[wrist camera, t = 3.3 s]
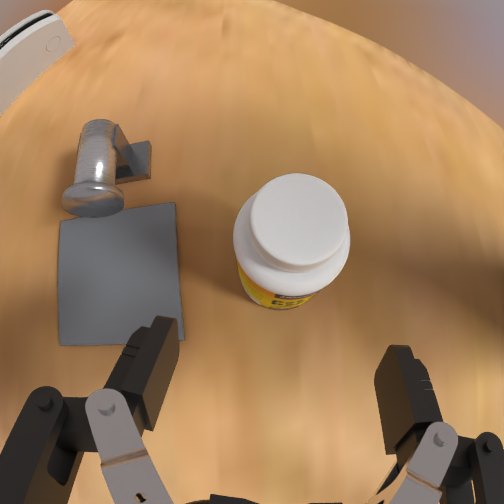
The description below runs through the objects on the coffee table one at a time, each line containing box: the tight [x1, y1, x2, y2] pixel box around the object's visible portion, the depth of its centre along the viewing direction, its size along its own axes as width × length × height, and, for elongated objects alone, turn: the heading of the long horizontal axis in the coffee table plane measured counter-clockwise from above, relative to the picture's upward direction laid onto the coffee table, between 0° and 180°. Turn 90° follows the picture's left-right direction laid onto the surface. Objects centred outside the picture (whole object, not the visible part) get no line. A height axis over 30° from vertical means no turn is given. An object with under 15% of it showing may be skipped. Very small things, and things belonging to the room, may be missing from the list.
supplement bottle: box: [233, 173, 350, 310], centre depth 17 cm, size 6×6×10 cm
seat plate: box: [58, 202, 185, 346], centre depth 22 cm, size 10×10×1 cm
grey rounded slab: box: [0, 10, 76, 116], centre depth 25 cm, size 17×5×10 cm, turn 142°
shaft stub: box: [62, 119, 151, 218], centre depth 21 cm, size 6×7×6 cm
